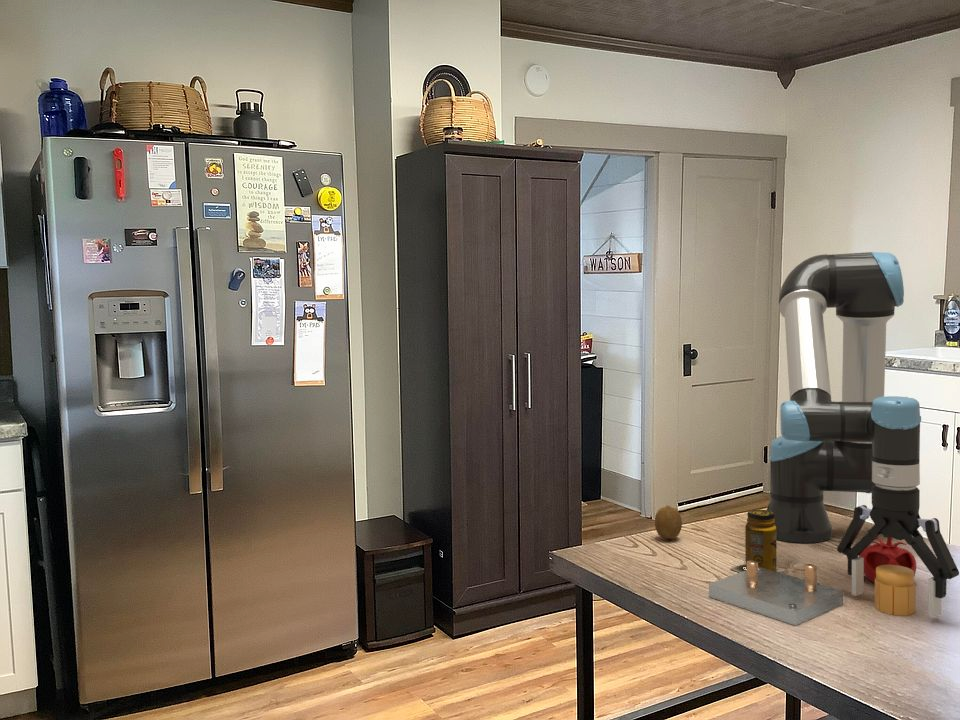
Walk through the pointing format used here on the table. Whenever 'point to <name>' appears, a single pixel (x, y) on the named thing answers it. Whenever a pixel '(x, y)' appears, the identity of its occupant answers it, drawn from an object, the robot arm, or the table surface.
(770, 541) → the condiment
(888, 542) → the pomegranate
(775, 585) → the plate
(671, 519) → the fruit
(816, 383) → the robot arm
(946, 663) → the table surface
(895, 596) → the wire nut
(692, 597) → the table surface
